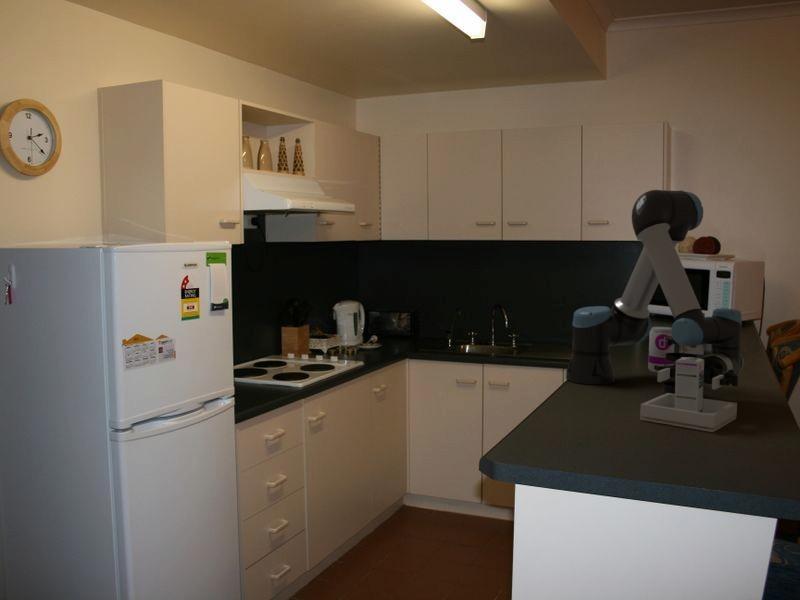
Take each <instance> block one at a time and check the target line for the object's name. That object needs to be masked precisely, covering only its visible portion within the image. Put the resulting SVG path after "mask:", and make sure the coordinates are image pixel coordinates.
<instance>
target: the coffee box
mask: <svg viewBox="0 0 800 600" xmlns="http://www.w3.org/2000/svg"><path fill="white" fill-rule="evenodd" d="M703 314H704V317H705V316H706V313H705V312H703ZM678 351H679V352H678V353H681V345H679V350H678ZM682 353H689V354H695V355H697V356H699V355H700V356H704V355H705V345H698V346H697V347H694V348H693V347H690V346H683V347H682Z"/></svg>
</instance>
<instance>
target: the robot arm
mask: <svg viewBox="0 0 800 600" xmlns="http://www.w3.org/2000/svg"><path fill="white" fill-rule="evenodd" d="M631 211H632V212H631V225H632V228H633V229H632V230H633V232H634V235H635V237H636V239H637V240H638V242H642V244H643V248H642V250H641V252H640V254H639V257H638V259H637V262H636V264H635V266H634V268H633V271H632V272H631V275H630V277H629V280H628V282H627V284H626V286H625V289H624V291H623V293H622V296H621V297H619V298H617V299H615V300H614V303H613V304H612V307H611V308H610V307H609V306H605V305H602V306H601V305H600V306H599V305H596V306H595V305H594V306H585V307H581V308H578V309H577V310H575V311H574V312H573V318H572V322H571V323H572V346H571V347H572V350H571V357H570V361H569V364H568V366H567V368H566V371H565V379H566V380H567V381H568V380H569V382H573V383H577V384H582V385H583V384H584V385H607V384H613V383H614V382H615V377H616V376H615V372H614V368H613V364H612V362H611V357H610V353H611V351H610V350H611V347H616V346H632V345H636V344H640V343H641V342H643V341H645V340H646V338H648V336H649V334H650V330H651V329H652V324H651V321H652V320H651V317H650V315H651V313H650V311H649V304H650V303H651V301H652V298H653V296H654V294H655V292H656V290H657V287H658V285H660V287H661V290H662V292H663V294H664V295H663V296H664V297H665V300H666V302H667V305H668V306H669V309H670V311H671V314H672V317H673V319H674V322H673V324H672V326H671V328H672V329H671V330H672V337H673V339H674V341H675V342H676V343H677V345H679V346H680V345H682V346H698V345H704V346H705V345H711V347H710V348H711V352H710V353H711V354H709V355H708V356H707V355H706V356H705V357H701V359H704V384H706V385H711V390H717V389H719V388H721V387H724V386H727V387H728V386H730V385H731V386H733V387H738V384H739V383H738V382H739V376H738V374H739V372H741V371H742V369H743V368H744V365H745V360H744V358H743V356H742V354H741V339H742V326H743V323H742V312H741V311H740V310H739V309H735V308H724V307H723V308H721V307H720V308H715V309H714V310H712V315H711V316H706V317H704V314H705V313H704V312H703V310H702V308H701V306H700V303H699V301H698V298H697V296H696V294H695V292H694V289H693V286H692V285H691V282H690V280H689V278H688V275H687V273H686V270H685V268H684V266H683V263H682V262H681V258H680V257H679V253H678V252H677V249H676V247H677V244H679V243H683V242H684V241H685V239H686V237H687V235H688V233H689V232H690V231H693V230H695V229H697V228H698V227H699V226H700V225H701V223H702V221H703V219H704V218H703V217H704V207H703V204H702V201H701V200H700V198H699V197H698V195H696V194H694V193H693V192H690V191H684V190H681V189H680V190H661V189H651V190H648V191H646V192H643V193H642V194H641V195H640V196H639V197H638V198H636V201H635V202H634V205H633V207H632V210H631ZM703 313H704V314H703ZM675 376H676V364H675V365H670V366H658V373H657V377H656V379H657V382H658V383H662V382H664V381H665V380H666V381H667V380H670V378H673V377H675Z"/></svg>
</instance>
